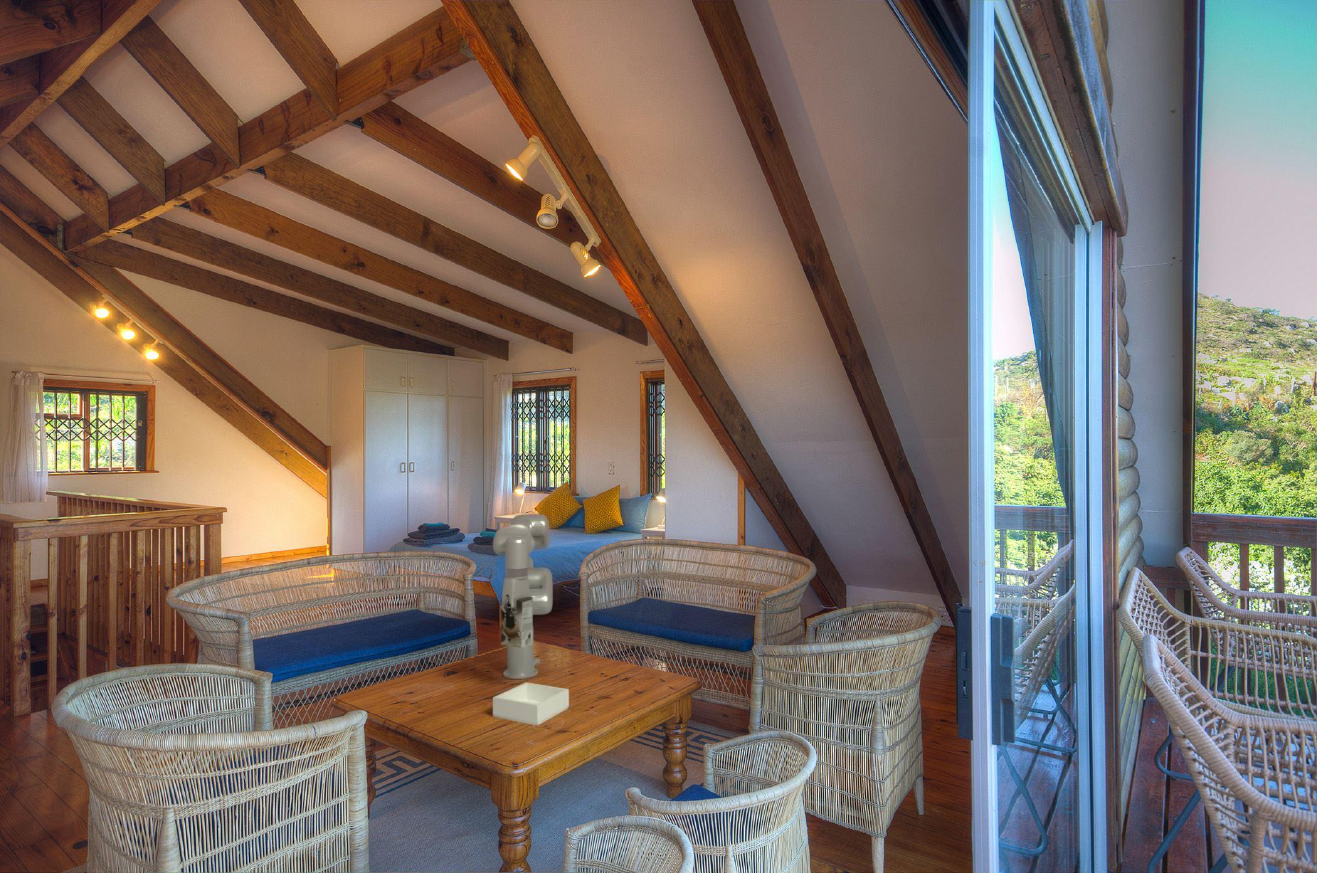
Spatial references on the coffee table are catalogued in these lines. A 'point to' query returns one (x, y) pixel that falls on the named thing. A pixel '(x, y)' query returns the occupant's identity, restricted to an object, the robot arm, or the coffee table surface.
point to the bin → (531, 703)
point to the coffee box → (518, 624)
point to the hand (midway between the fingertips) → (516, 624)
